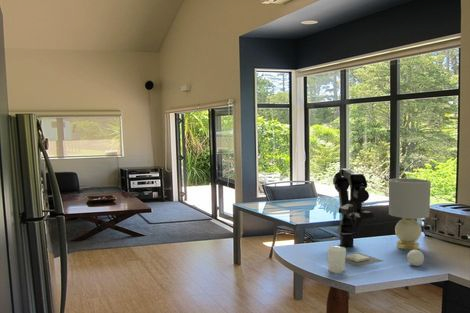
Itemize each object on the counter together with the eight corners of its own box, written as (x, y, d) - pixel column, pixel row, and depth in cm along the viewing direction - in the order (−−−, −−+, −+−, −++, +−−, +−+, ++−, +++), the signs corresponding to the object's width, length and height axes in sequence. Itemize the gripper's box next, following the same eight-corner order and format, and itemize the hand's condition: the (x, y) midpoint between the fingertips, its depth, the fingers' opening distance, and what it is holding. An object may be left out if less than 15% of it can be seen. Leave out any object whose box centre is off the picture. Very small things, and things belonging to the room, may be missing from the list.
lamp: (383, 248, 249) (385, 180, 246) (392, 241, 266) (394, 177, 264) (424, 254, 238) (426, 183, 236) (431, 246, 255) (433, 179, 253)
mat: (331, 259, 229) (331, 257, 229) (359, 254, 238) (359, 252, 238) (356, 267, 215) (356, 266, 215) (384, 262, 224) (384, 260, 224)
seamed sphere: (421, 263, 222) (422, 248, 222) (425, 268, 215) (426, 252, 215) (399, 262, 224) (399, 247, 224) (402, 267, 217) (402, 251, 216)
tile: (344, 255, 228) (357, 259, 222) (357, 253, 232) (369, 257, 226) (344, 258, 228) (357, 262, 222) (357, 256, 233) (369, 260, 226)
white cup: (335, 274, 205) (335, 251, 205) (323, 269, 212) (323, 247, 211) (349, 272, 209) (349, 249, 208) (337, 267, 216) (338, 245, 215)
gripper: (330, 197, 241) (330, 227, 242) (358, 202, 225) (357, 235, 226) (347, 195, 247) (346, 225, 248) (374, 200, 231) (374, 232, 232)
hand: (355, 229), depth 239 cm, fingers closed
